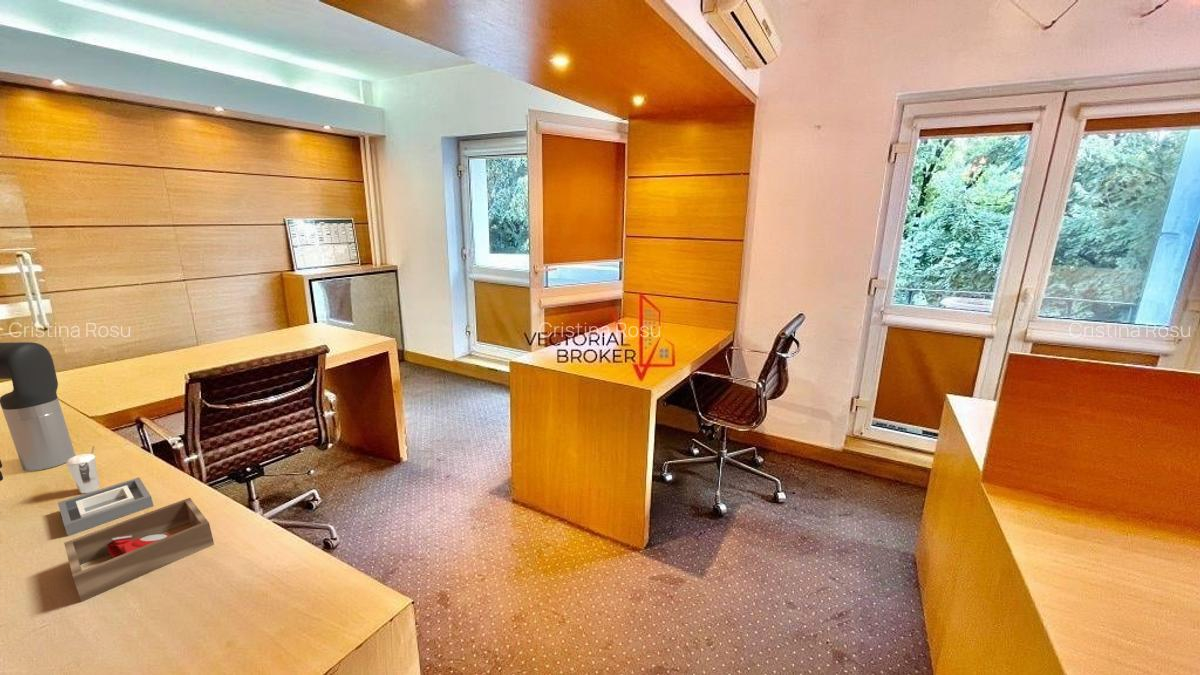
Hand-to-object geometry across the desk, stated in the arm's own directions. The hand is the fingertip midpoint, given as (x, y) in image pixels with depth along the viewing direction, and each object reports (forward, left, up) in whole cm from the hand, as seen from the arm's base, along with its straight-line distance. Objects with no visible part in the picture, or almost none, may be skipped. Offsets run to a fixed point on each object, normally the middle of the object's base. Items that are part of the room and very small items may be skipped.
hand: (1, 468), depth 99 cm
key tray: (+41, +14, -11) cm, 45 cm away
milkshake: (0, +11, -11) cm, 16 cm away
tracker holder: (+40, +14, -11) cm, 44 cm away
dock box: (+14, +12, -11) cm, 22 cm away
